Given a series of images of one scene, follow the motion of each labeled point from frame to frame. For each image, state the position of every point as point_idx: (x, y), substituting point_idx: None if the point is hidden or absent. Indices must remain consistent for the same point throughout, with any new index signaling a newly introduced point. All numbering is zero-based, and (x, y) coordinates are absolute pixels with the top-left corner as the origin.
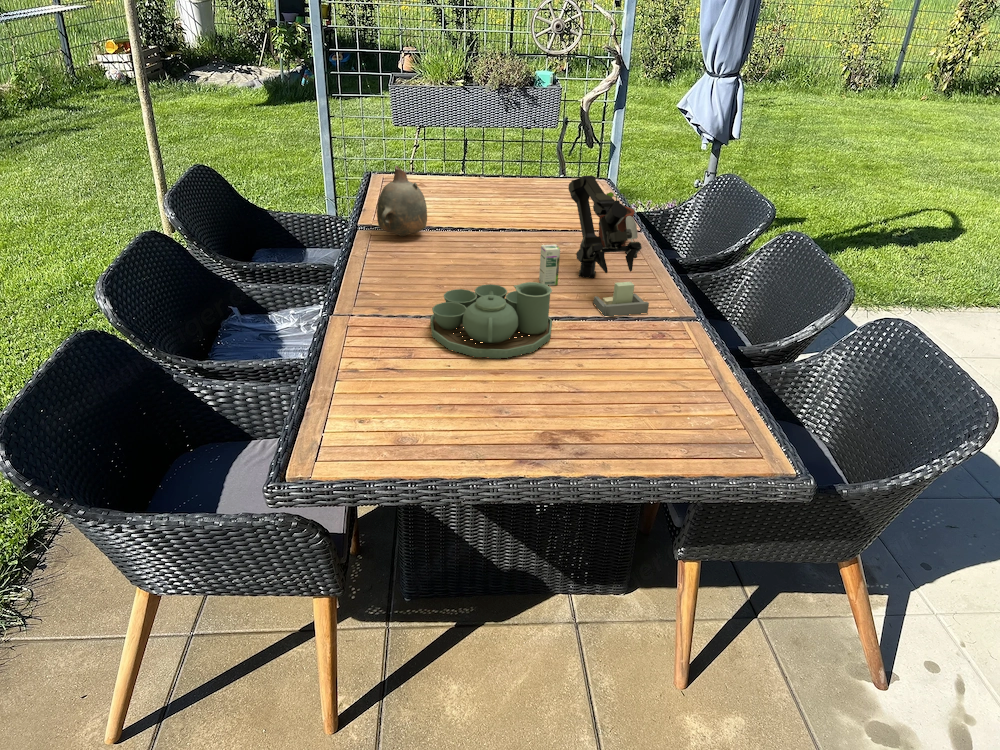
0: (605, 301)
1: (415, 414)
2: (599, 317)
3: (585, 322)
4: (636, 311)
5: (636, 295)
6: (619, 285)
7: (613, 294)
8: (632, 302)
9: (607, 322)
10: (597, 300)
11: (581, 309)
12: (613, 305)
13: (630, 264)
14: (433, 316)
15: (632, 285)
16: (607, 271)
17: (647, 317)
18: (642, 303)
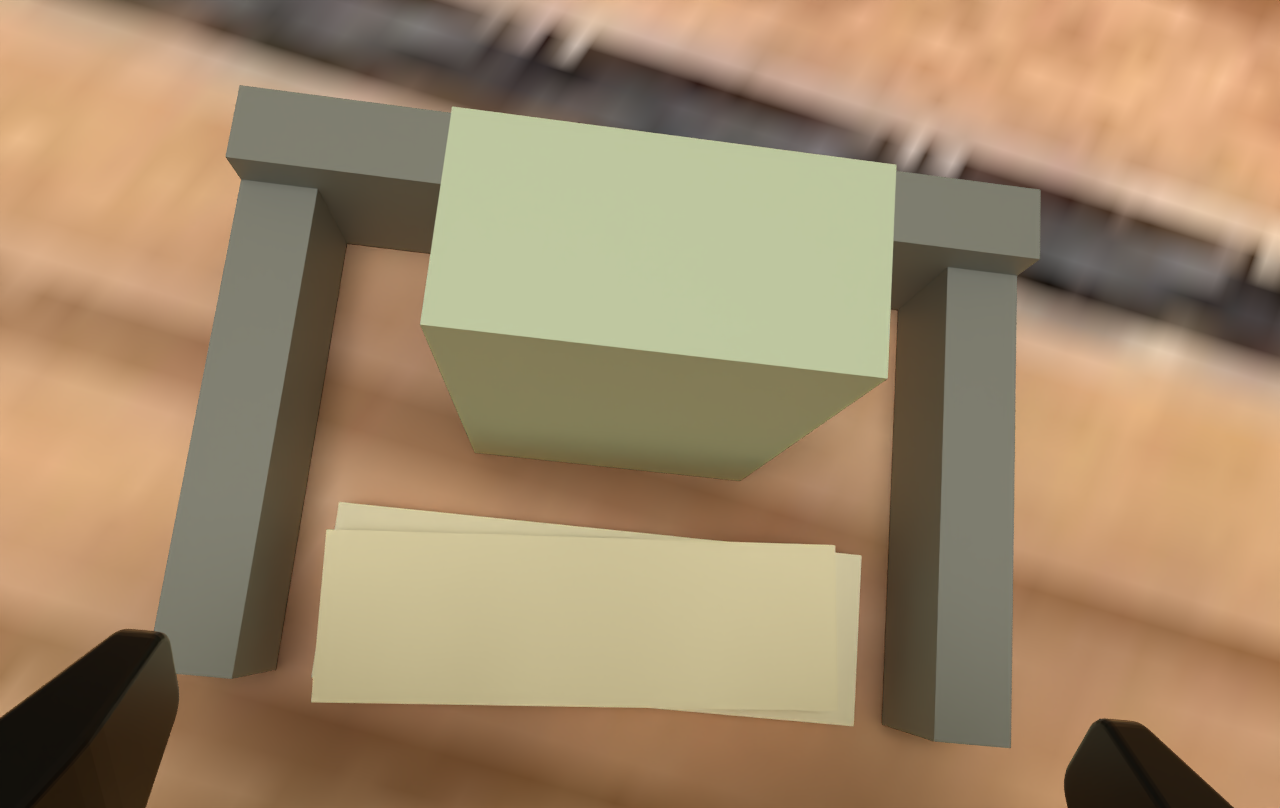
0: (831, 583)
1: None
2: (1032, 282)
3: (1270, 206)
4: None
5: (186, 570)
6: (847, 196)
7: (803, 432)
8: (285, 587)
9: (988, 118)
10: (1011, 571)
11: (1190, 602)
12: (898, 198)
13: (30, 805)
14: None
15: (507, 116)
16: (1117, 728)
17: (364, 75)
18: (361, 112)
